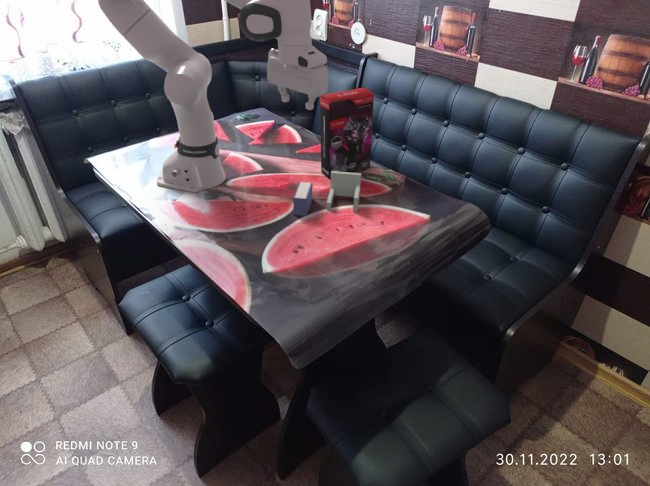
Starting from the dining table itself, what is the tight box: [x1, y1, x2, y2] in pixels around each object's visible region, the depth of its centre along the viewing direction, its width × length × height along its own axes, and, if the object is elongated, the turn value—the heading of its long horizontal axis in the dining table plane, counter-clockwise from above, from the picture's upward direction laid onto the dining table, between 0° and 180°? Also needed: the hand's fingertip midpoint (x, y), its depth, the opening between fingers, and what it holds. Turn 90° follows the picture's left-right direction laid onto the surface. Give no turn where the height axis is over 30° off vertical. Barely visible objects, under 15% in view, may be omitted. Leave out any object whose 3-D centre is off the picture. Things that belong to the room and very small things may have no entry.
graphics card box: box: [319, 86, 375, 180], centre depth 161 cm, size 17×7×27 cm, turn 120°
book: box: [292, 181, 313, 217], centre depth 147 cm, size 4×10×6 cm, turn 172°
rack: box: [326, 171, 362, 213], centre depth 149 cm, size 9×10×8 cm
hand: (297, 105), depth 135 cm, fingers open, 8 cm apart
